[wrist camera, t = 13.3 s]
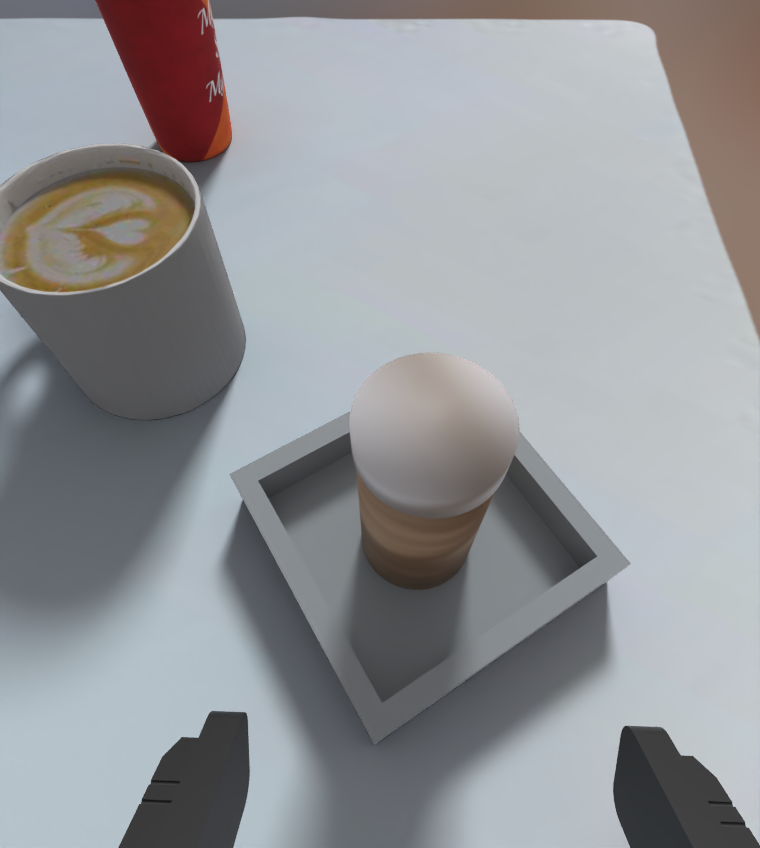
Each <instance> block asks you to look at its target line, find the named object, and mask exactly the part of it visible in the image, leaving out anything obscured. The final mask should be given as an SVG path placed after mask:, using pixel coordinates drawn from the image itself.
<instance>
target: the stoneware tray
mask: <svg viewBox="0 0 760 848" xmlns="http://www.w3.org/2000/svg"><path fill="white" fill-rule="evenodd" d="M349 419H350V412H348V413H346V414H344V415H342V416H340V417H338V418H337V419H335V420H333V421H331V422H329V423H327V424H325V425H323V426H321V427H319V428H317V429H315V430H313V431H312V432H310V433H308V434H306V435H304V436H302V437H300V438H298V439H296V440H294V441H292V442H290V443H289V444H287V445H285V446H283V447H281V448H279V449H277V450H275V451H273V452H271V453H269V454H267V455H265V456H264V457H262V458H260V459H258V460H256V461H254V462H252V463H250V464H248V465H246V466H244V467H242V468H240V469H239V470H237V471H235V472H233V473H231V474H230V476H231V478H232V480H233V482H234V484H235V485H236V487H237V489H238V491H239V493H240V495H241V497H242V498H243V500H244V502H245V504H246V506H247V508H248V510H249V512H250V513H251V515H252V517H253V519H254V521H255V523H256V525H257V527H258V528H259V530H260V532H261V534H262V536H263V538H264V540H265V542H266V543H267V545H268V547H269V549H270V551H271V553H272V555H273V557H274V558H275V560H276V562H277V564H278V566H279V568H280V570H281V572H282V573H283V575H284V577H285V579H286V581H287V583H288V585H289V586H290V588H291V590H292V592H293V594H294V596H295V598H296V600H297V601H298V603H299V605H300V607H301V609H302V611H303V613H304V615H305V616H306V618H307V620H308V622H309V624H310V626H311V628H312V630H313V631H314V633H315V635H316V637H317V639H318V641H319V643H320V645H321V646H322V648H323V650H324V652H325V654H326V656H327V658H328V660H329V661H330V663H331V665H332V667H333V669H334V671H335V673H336V674H337V676H338V678H339V680H340V682H341V684H342V686H343V688H344V689H345V691H346V693H347V695H348V697H349V699H350V701H351V703H352V704H353V706H354V708H355V710H356V712H357V714H358V716H359V718H360V719H361V721H362V723H363V725H364V727H365V729H366V731H367V733H368V734H369V736H370V738H371V740H372V742H373V744H374V745H375V744H376V743H378V742H379V741H381V740H382V739H384V738H385V737H386V736H388V735H389V734H391V733H392V732H394V731H395V730H396V729H398V728H399V727H401V726H402V725H404V724H405V723H406V722H408V721H409V720H411V719H412V718H414V717H415V716H416V715H418V714H419V713H421V712H422V711H424V710H425V709H426V708H428V707H429V706H431V705H432V704H434V703H435V702H436V701H438V700H439V699H441V698H442V697H444V696H445V695H446V694H448V693H449V692H451V691H452V690H454V689H455V688H456V687H458V686H459V685H461V684H462V683H464V682H465V681H466V680H468V679H469V678H471V677H472V676H474V675H475V674H476V673H478V672H479V671H481V670H482V669H484V668H485V667H486V666H488V665H489V664H491V663H492V662H494V661H495V660H496V659H498V658H499V657H501V656H502V655H504V654H505V653H506V652H508V651H509V650H511V649H512V648H514V647H515V646H516V645H518V644H519V643H521V642H522V641H524V640H525V639H526V638H528V637H529V636H531V635H532V634H534V633H535V632H536V631H538V630H539V629H541V628H542V627H544V626H545V625H546V624H548V623H549V622H551V621H552V620H553V619H555V618H556V617H558V616H559V615H561V614H562V613H563V612H565V611H566V610H568V609H569V608H571V607H572V606H573V605H575V604H576V603H578V602H579V601H581V600H582V599H583V598H585V597H586V596H588V595H589V594H591V593H592V592H593V591H595V590H596V589H598V588H599V587H601V586H602V585H603V584H605V583H606V582H608V581H609V580H610V579H612V578H613V577H614V576H615V575H617V574H618V573H619V572H621V571H622V570H623V569H624V568H626V567H627V566H628V565H630V564H631V563H630V562H629V561H628V560H627V559H626V557H625V556H624V555H623V554H622V553H621V552H620V550H619V549H618V548H617V547H616V546H615V544H614V543H613V542H612V541H611V540H610V538H609V537H608V536H607V535H606V534H605V532H604V531H603V530H602V529H601V528H600V527H599V525H598V524H597V523H596V522H595V521H594V519H593V518H592V517H591V516H590V515H589V513H588V512H587V511H586V510H585V509H584V508H583V506H582V505H581V504H580V503H579V502H578V500H577V499H576V498H575V497H574V496H573V494H572V493H571V492H570V491H569V490H568V488H567V487H566V486H565V485H564V484H563V483H562V481H561V480H560V479H559V478H558V477H557V475H556V474H555V473H554V472H553V471H552V469H551V468H550V467H549V466H548V465H547V464H546V462H545V461H544V460H543V459H542V458H541V456H540V455H539V454H538V453H537V452H536V450H535V449H534V448H533V447H532V446H531V444H530V443H529V442H528V441H527V440H526V439H525V437H524V436H523V435H522V434H521V433H520V431H519V441H518V446H517V449H516V452H515V455H514V457H513V459H512V462H511V464H510V466H509V468H508V471H507V473H506V475H505V477H504V479H503V481H502V483H501V485H500V486H499V487H498V489H497V490H496V491H495V493H494V495H493V497H492V500H491V502H490V504H489V507H488V509H487V511H486V514H485V516H484V518H483V521H482V523H481V525H480V527H479V530H478V532H477V534H476V537H475V539H474V541H473V544H472V546H471V548H470V551H469V553H468V555H467V558H466V560H465V562H464V564H463V565H462V567H461V568H460V570H459V571H458V572H457V573H456V574H455V575H454V576H453V577H452V578H451V579H449V580H448V581H447V582H445V583H443V584H441V585H439V586H436V587H434V588H429V589H423V590H411V589H405V588H402V587H398V586H396V585H394V584H392V583H390V582H388V581H387V580H385V579H384V578H382V577H381V576H380V575H379V574H378V573H377V572H376V571H375V570H374V569H373V567H372V566H371V564H370V563H369V561H368V559H367V557H366V555H365V552H364V548H363V544H362V532H361V520H360V508H359V496H358V484H357V473H356V467H355V465H354V461H353V457H352V449H351V439H350V427H349Z"/></svg>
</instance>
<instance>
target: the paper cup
mask: <svg viewBox="0 0 760 848" xmlns="http://www.w3.org/2000/svg"><path fill="white" fill-rule="evenodd" d="M96 3H97V5H98V7H99V10H100V12H101V14H102V17H103V19H104V21H105V24H106V26H107V28H108V31H109V33H110V35H111V38H112V40H113V42H114V45H115V47H116V49H117V51H118V54H119V56H120V58H121V61H122V63H123V65H124V68H125V70H126V72H127V75H128V77H129V79H130V81H131V84H132V86H133V88H134V91H135V93H136V95H137V98H138V100H139V102H140V104H141V107H142V109H143V111H144V113H145V116H146V118H147V120H148V123H149V125H150V127H151V129H152V131H153V134H154V136H155V138H156V140H157V142H158V144H159V146H160V148H161V150H162V151H163V153H165V154H167V155H169V156H171V157H173V158H175V159H176V160H177V161H182V162H198V161H204V160H208V159H211V158H213V157H215V156H217V155H219V154H220V153H222V152H223V151H224V150H225V149H226V148H227V147H228V146H229V145H230V143H231V140H232V130H231V122H230V116H229V109H228V103H227V98H226V92H225V86H224V80H223V74H222V69H221V63H220V57H219V51H218V46H217V40H216V34H215V29H214V23H213V18H212V13H211V7H210V1H209V0H96Z"/></svg>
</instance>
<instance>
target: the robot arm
mask: <svg viewBox="0 0 760 848" xmlns="http://www.w3.org/2000/svg"><path fill="white" fill-rule="evenodd" d="M249 773H250V769H249V742H248V719H247V714H246V713H245V712H222V711H211V712H210V713H209V715H208V717H207V719H206V722H205V724H204V726H203V729H202V731H201V734H200V736H199V738H188V737H182V738H181V739H180V740H179V741H178V742H177V743H176V744H175V745H174V746H173V747H172V748H171V749H170V750H169V751H168V752H167V753H166V754H165V755H164V756H163V757H162V759H161V761H160V763H159V765H158V767H157V769H156V771H155V773H154V775H153V777H152V779H151V784H150V785H149V786H148V788H147V790H146V792H145V794H144V796H143V798H142V802H141V804H139V806H138V808H137V810H136V813H135V815H134V817H133V819H132V821H131V823H130V825H129V827H128V829H127V831H126V833H125V835H124V837H123V839H122V842H121V844H120V846H119V848H233V846H234V843H235V839H236V835H237V832H238V828H239V825H240V821H241V818H242V814H243V811H244V807H245V803H246V799H247V793H248V786H249ZM613 793H614V802H615V808H616V812H617V815H618V818H619V821H620V824H621V826H622V828H623V831H624V833H625V836H626V838H627V841H628V843H629V845H630V848H760V845H759V843H758V842H757V840H756V839H755V837H754V836H753V834H752V832H751V831H750V829H749V828H746V826H745V822H744V820H743V818H742V817H741V815H740V814H739V812H738V811H737V809H736V807H733V805H732V801H731V800H730V798H729V797H728V795H727V793H726V792H725V790H724V789H723V787H722V786H721V784H720V782H719V781H718V779H717V778H716V777H715V776H714V775H713V774H712V773H711V772H710V771H709V770H707V769H706V768H705V767H704V766H703V765H702V764H701V763H700V762H699V761H698V760H696V759H695V758H694V757H693V756H681V755H680V754H679V752H678V750H677V749H676V747H675V745H674V744H673V742H672V740H671V739H670V737H669V735H668V734H667V732H666V731H665V730H664V729H663V728H661V727H641V726H625V727H624V728H623V729H622V732H621V738H620V744H619V751H618V758H617V764H616V771H615V777H614V785H613Z"/></svg>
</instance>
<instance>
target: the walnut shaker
mask: <svg viewBox="0 0 760 848" xmlns="http://www.w3.org/2000/svg"><path fill="white" fill-rule="evenodd" d="M349 427H350V439H351V449H352V457H353V461H354V465H355V467H356V473H357V484H358V496H359V508H360V520H361V532H362V544H363V548H364V552H365V555H366V557H367V559H368V561H369V563H370V564H371V566H372V567H373V569H374V570H375V571H376V572H377V573H378V574H379V575H380V576H381V577H382V578H384V579H385V580H387V581H388V582H390V583H392V584H394V585H396V586H398V587H402V588H405V589H411V590H423V589H429V588H434V587H436V586H439V585H441V584H443V583H445V582H447V581H448V580H449V579H451V578H452V577H453V576H454V575H455V574H456V573H457V572H458V571H459V570H460V568H461V567H462V565H463V564H464V562H465V560H466V558H467V555H468V553H469V551H470V548H471V546H472V544H473V541H474V539H475V537H476V534H477V532H478V530H479V527H480V525H481V523H482V521H483V518H484V516H485V514H486V511H487V509H488V507H489V504H490V502H491V500H492V497H493V495H494V493H495V491H496V490H497V489H498V487H499V486H500V485H501V483H502V481H503V479H504V477H505V475H506V473H507V471H508V468H509V466H510V464H511V462H512V459H513V457H514V455H515V452H516V449H517V446H518V441H519V430H520V428H519V418H518V414H517V410H516V408H515V405H514V403H513V400H512V398H511V397H510V395H509V393H508V392H507V390H506V389H505V388H504V386H503V385H502V384H501V383H500V382H499V381H498V380H497V379H496V378H495V377H494V376H493V375H492V374H491V373H489V372H488V371H487V370H485V369H484V368H482V367H480V366H479V365H477V364H475V363H473V362H471V361H469V360H466V359H463V358H461V357H457V356H453V355H449V354H442V353H419V354H413V355H408V356H404V357H401V358H398V359H396V360H393V361H391V362H389V363H387V364H385V365H384V366H382V367H380V368H379V369H378V370H376V371H375V372H374V373H372V374H371V375H370V376H369V377H368V378H367V379H366V381H365V382H364V383H363V384H362V386H361V387H360V389H359V390H358V392H357V394H356V396H355V398H354V401H353V403H352V407H351V411H350V419H349Z"/></svg>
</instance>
